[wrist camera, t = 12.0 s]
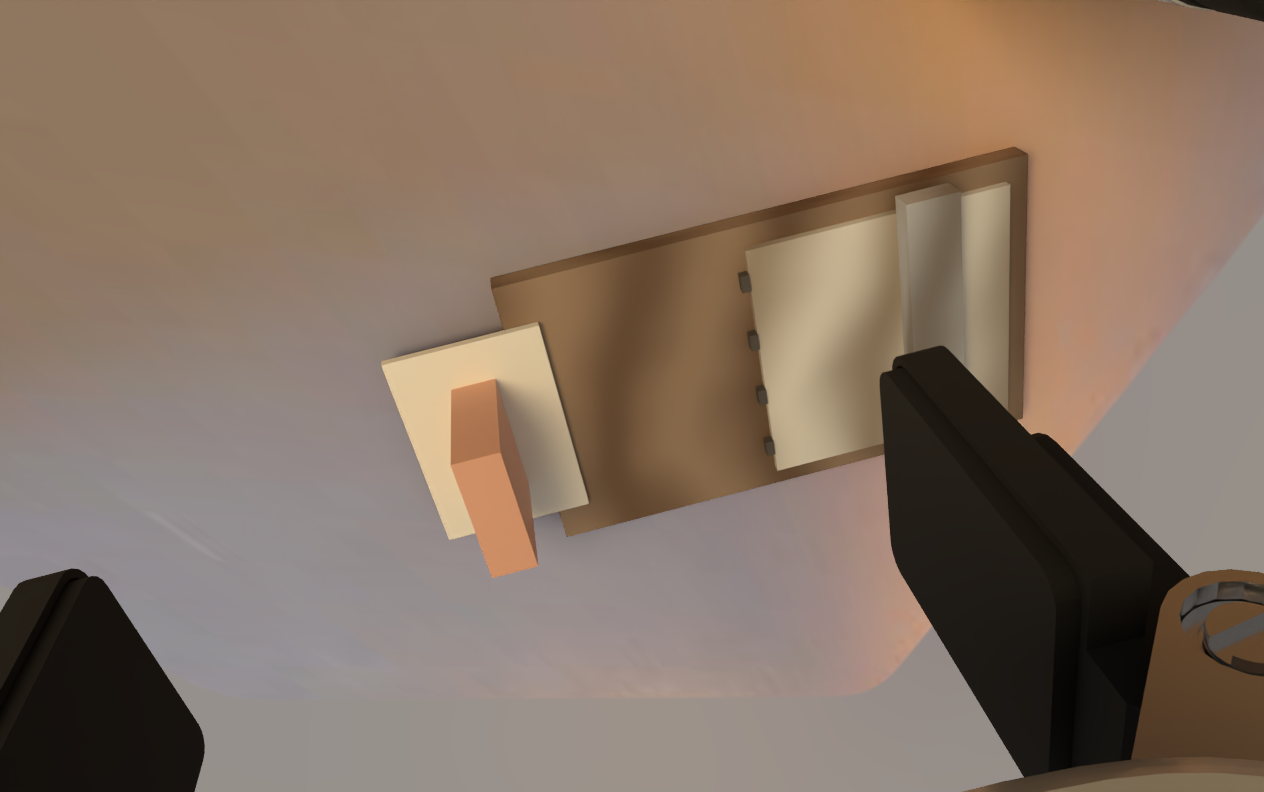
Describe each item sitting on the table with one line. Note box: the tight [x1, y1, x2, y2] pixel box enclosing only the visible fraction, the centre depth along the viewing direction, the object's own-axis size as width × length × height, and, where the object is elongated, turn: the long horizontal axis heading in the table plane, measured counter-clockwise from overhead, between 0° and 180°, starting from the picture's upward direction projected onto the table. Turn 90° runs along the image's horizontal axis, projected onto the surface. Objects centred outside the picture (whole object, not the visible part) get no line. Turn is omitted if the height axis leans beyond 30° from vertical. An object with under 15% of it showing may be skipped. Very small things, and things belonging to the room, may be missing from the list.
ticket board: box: [490, 147, 1028, 537], centre depth 45 cm, size 24×14×3 cm, turn 102°
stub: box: [381, 322, 589, 578], centre depth 42 cm, size 7×10×6 cm
